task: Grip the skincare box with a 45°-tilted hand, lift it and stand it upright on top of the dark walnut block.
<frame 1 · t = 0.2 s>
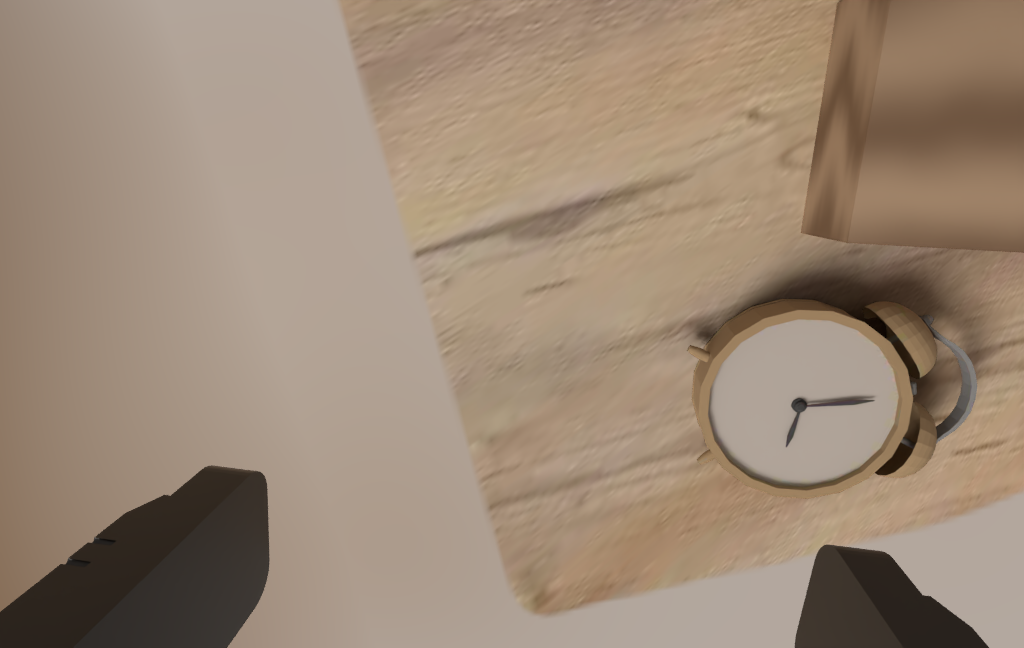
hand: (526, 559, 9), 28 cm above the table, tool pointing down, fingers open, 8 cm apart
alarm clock: (810, 382, 37), on the table
walnut block: (928, 128, 33), on the table
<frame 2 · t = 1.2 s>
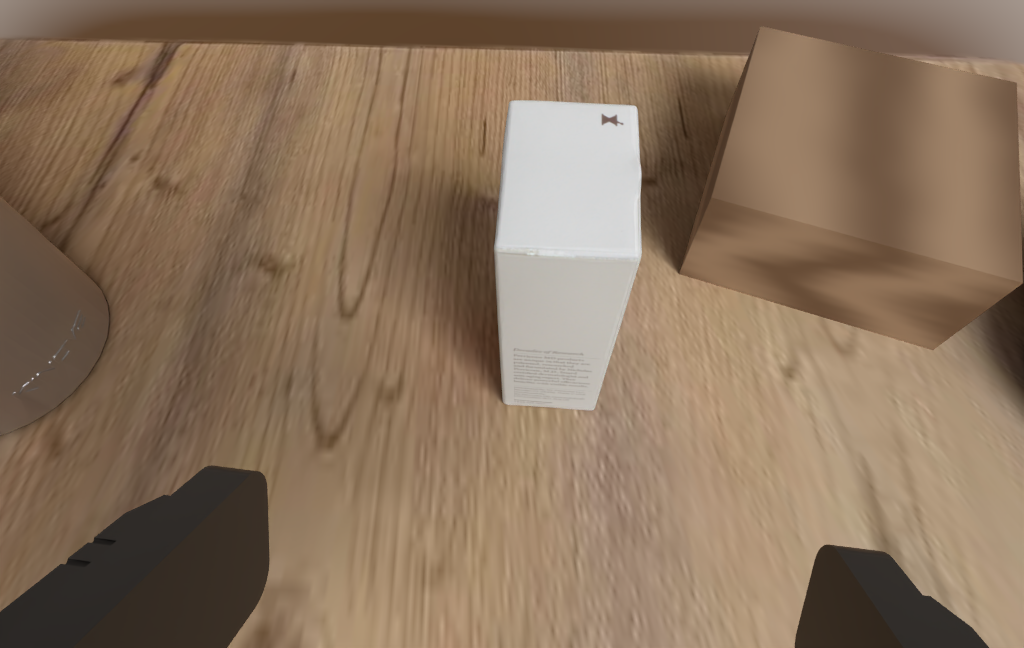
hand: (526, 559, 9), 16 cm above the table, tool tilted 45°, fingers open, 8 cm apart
skincare box: (550, 353, 28), on the table
walnut block: (814, 222, 32), on the table
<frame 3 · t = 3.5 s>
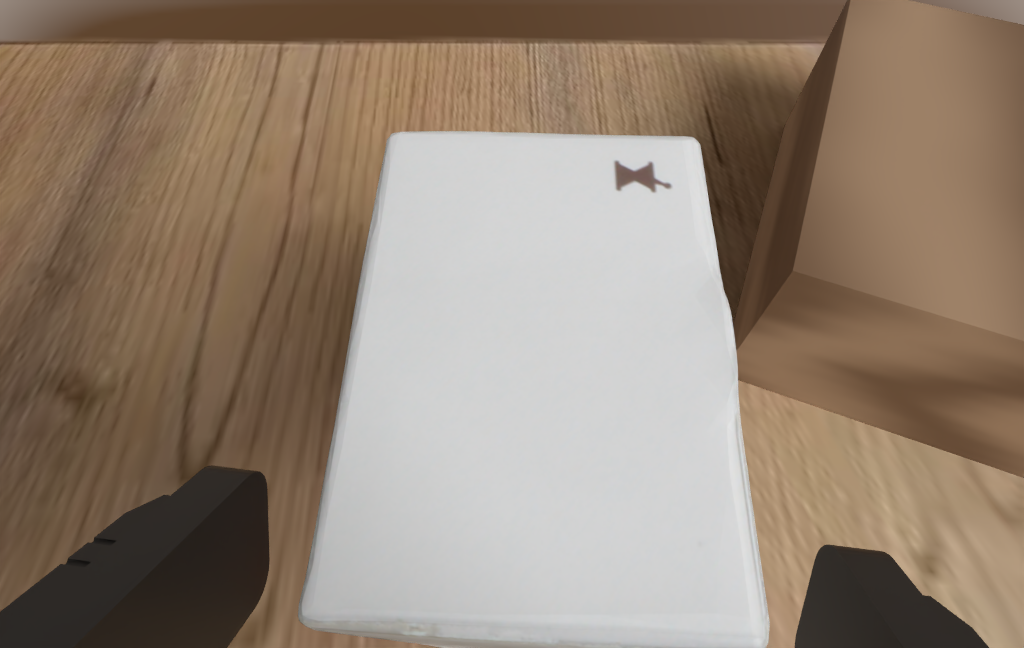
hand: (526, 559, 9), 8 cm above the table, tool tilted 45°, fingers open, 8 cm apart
skincare box: (526, 537, 17), on the table
walnut block: (926, 290, 21), on the table
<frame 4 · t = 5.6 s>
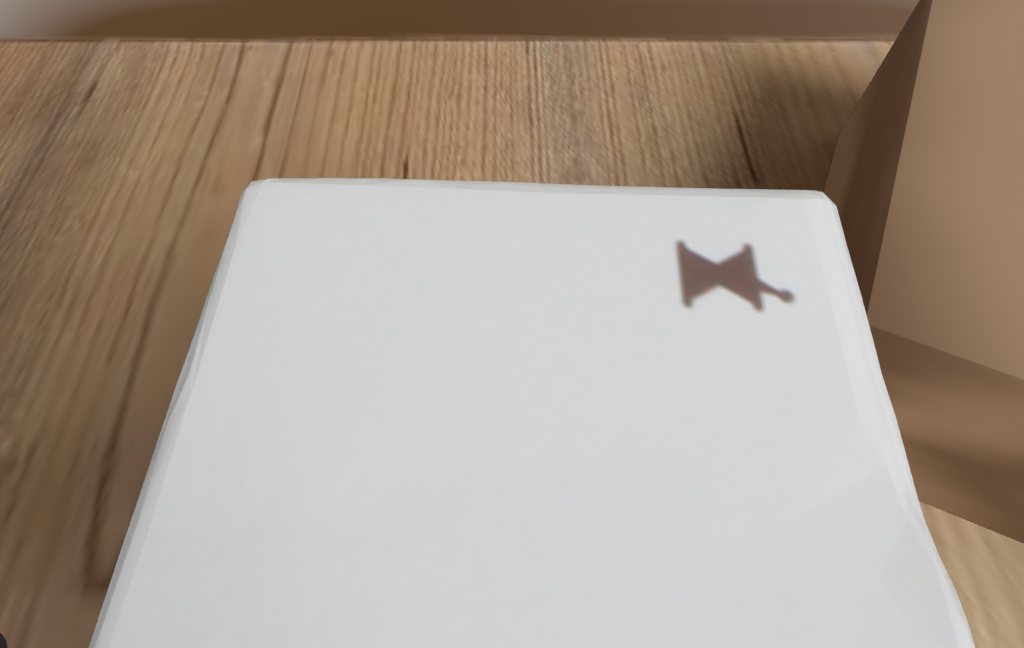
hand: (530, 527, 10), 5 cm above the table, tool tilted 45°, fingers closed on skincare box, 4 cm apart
walnut block: (1011, 339, 17), on the table
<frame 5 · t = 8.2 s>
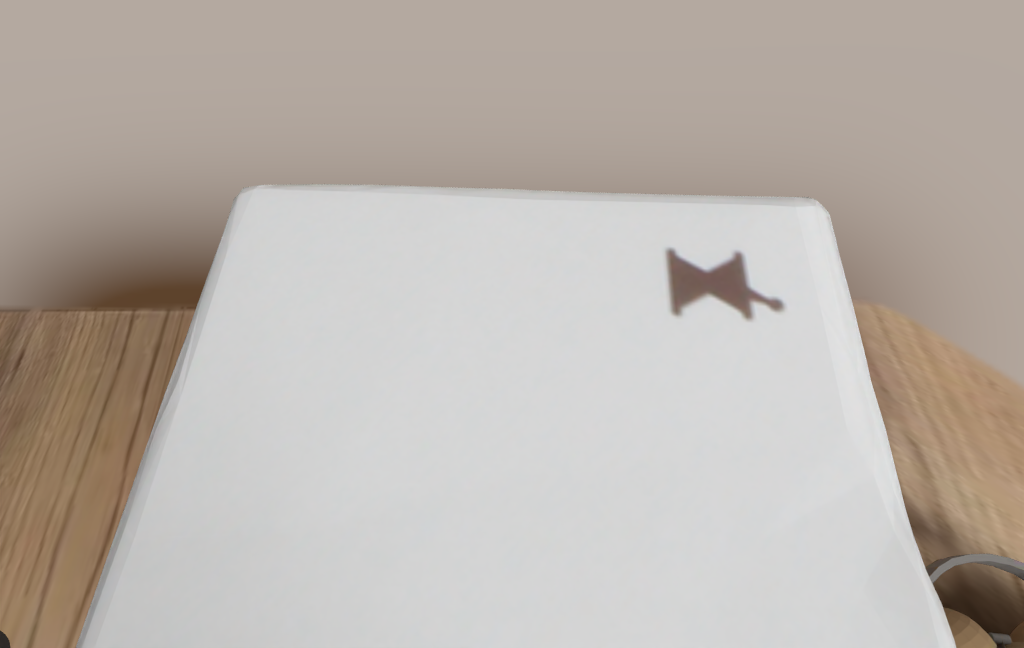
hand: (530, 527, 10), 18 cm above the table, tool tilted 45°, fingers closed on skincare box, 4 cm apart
when the fingers open (12 cm above the table, at t = 10.7 s): skincare box drops 2 cm, resting on walnut block.
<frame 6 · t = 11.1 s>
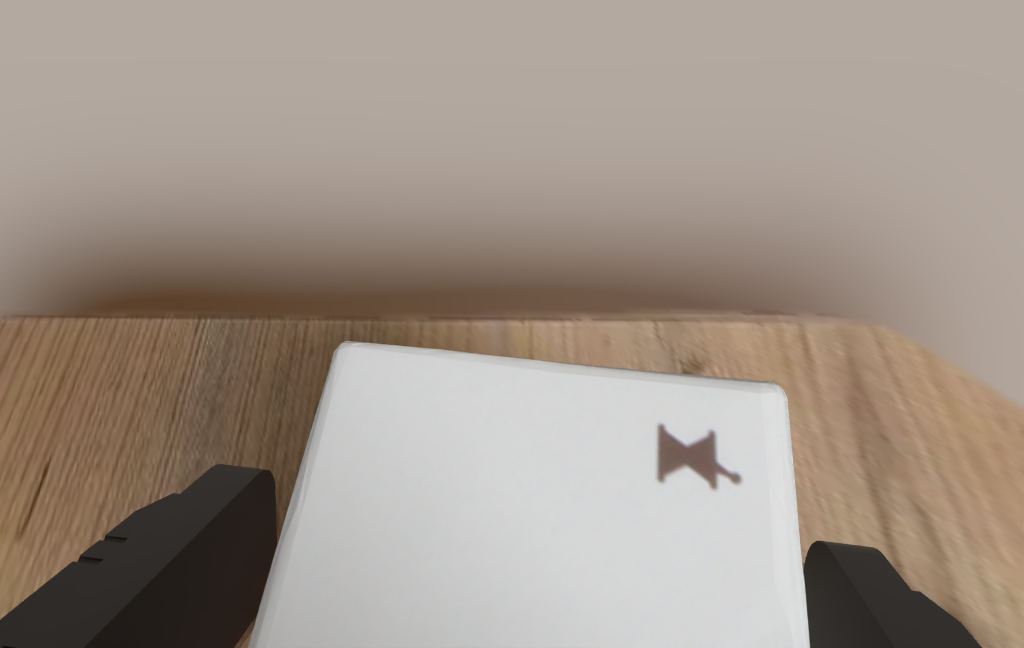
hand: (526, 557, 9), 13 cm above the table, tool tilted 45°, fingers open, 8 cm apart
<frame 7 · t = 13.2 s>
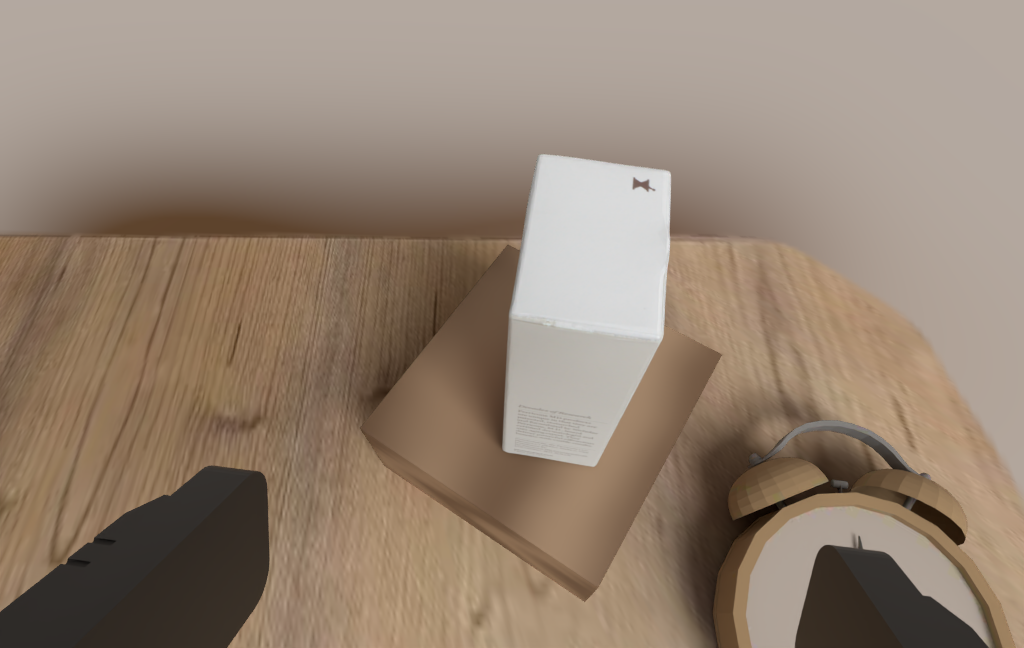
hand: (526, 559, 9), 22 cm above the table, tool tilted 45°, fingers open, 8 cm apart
skincare box: (555, 401, 27), point 5 cm above the table, touching walnut block
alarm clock: (827, 592, 29), on the table
walnut block: (542, 434, 33), on the table, touching skincare box
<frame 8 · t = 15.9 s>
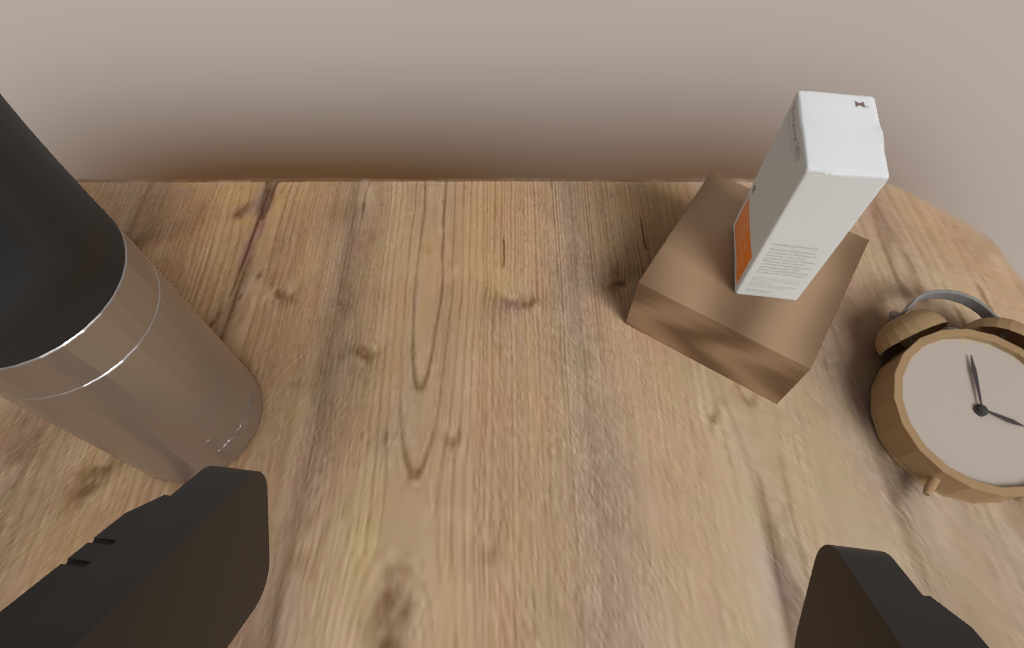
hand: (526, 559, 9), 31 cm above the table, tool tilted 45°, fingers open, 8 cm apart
skincare box: (761, 264, 42), point 5 cm above the table, touching walnut block
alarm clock: (943, 402, 43), on the table
walnut block: (729, 306, 47), on the table, touching skincare box
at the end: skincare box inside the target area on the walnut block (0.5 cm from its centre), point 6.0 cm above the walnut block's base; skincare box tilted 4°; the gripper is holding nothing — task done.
